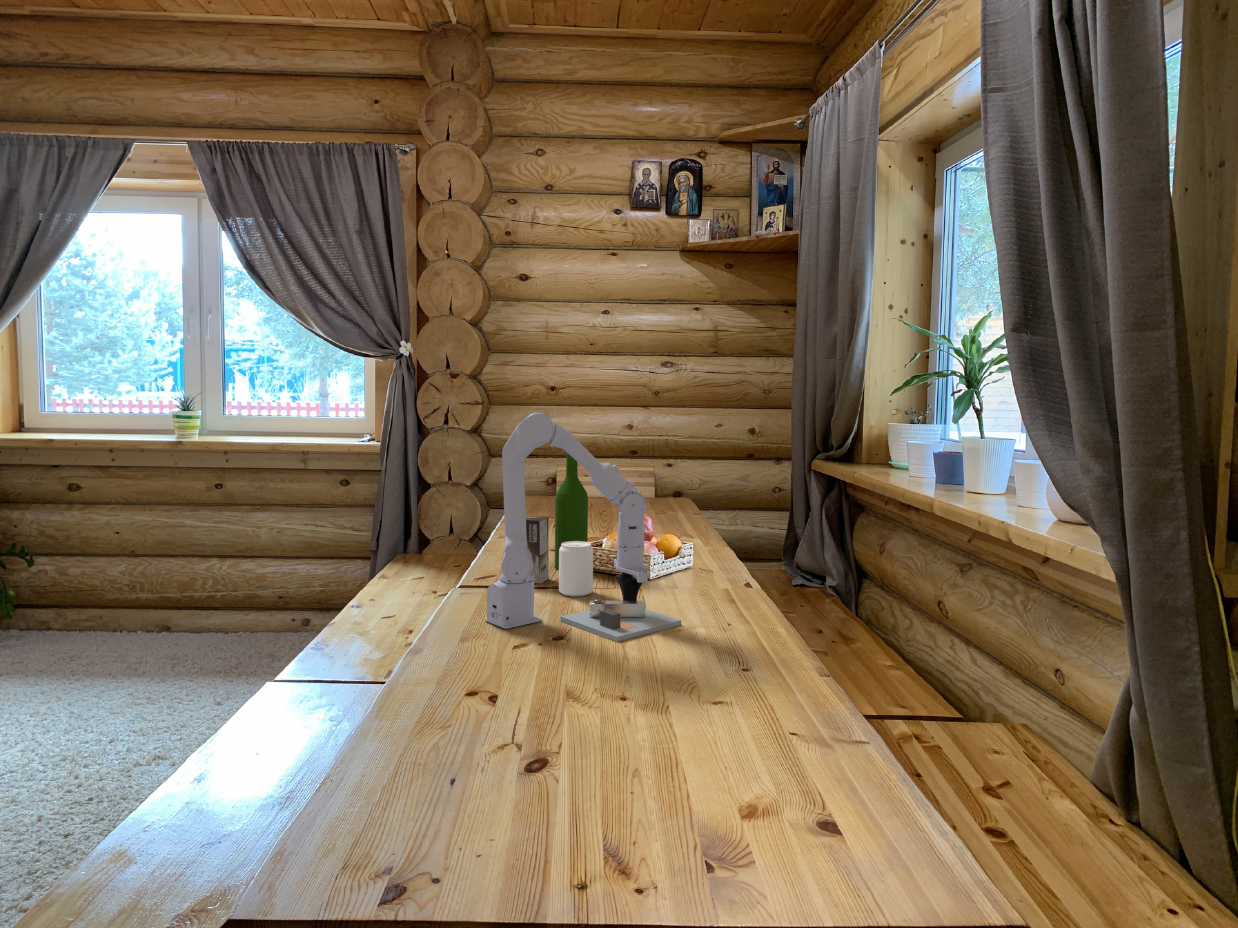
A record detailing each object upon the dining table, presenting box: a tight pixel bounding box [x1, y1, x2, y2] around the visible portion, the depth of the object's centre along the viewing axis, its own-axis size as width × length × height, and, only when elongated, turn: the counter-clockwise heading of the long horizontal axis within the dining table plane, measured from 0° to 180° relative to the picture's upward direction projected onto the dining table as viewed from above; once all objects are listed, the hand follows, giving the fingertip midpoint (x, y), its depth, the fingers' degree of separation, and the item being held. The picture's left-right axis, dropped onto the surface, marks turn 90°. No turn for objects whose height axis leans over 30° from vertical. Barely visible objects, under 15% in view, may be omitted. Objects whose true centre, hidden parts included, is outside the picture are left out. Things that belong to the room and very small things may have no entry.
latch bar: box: [588, 598, 646, 618], centre depth 172 cm, size 12×4×3 cm, turn 93°
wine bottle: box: [554, 452, 589, 571], centre depth 220 cm, size 9×9×32 cm
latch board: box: [559, 608, 682, 643], centre depth 170 cm, size 18×18×4 cm
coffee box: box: [526, 515, 550, 584], centre depth 206 cm, size 9×6×16 cm
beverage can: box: [558, 541, 594, 598], centre depth 194 cm, size 8×8×12 cm
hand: (629, 607), depth 174 cm, fingers closed, pressing on latch bar
